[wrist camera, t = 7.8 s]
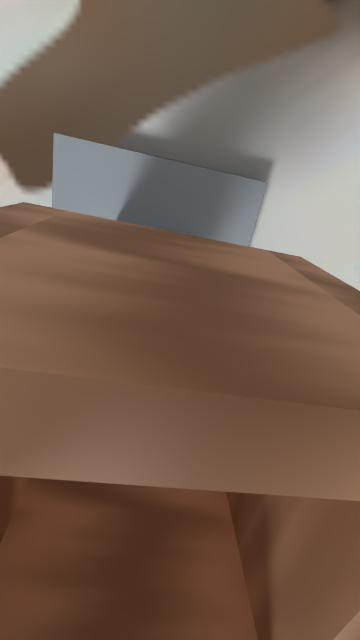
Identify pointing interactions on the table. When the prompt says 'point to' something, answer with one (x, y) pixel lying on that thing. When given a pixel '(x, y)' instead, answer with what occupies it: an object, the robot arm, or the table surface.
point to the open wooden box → (174, 436)
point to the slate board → (153, 191)
